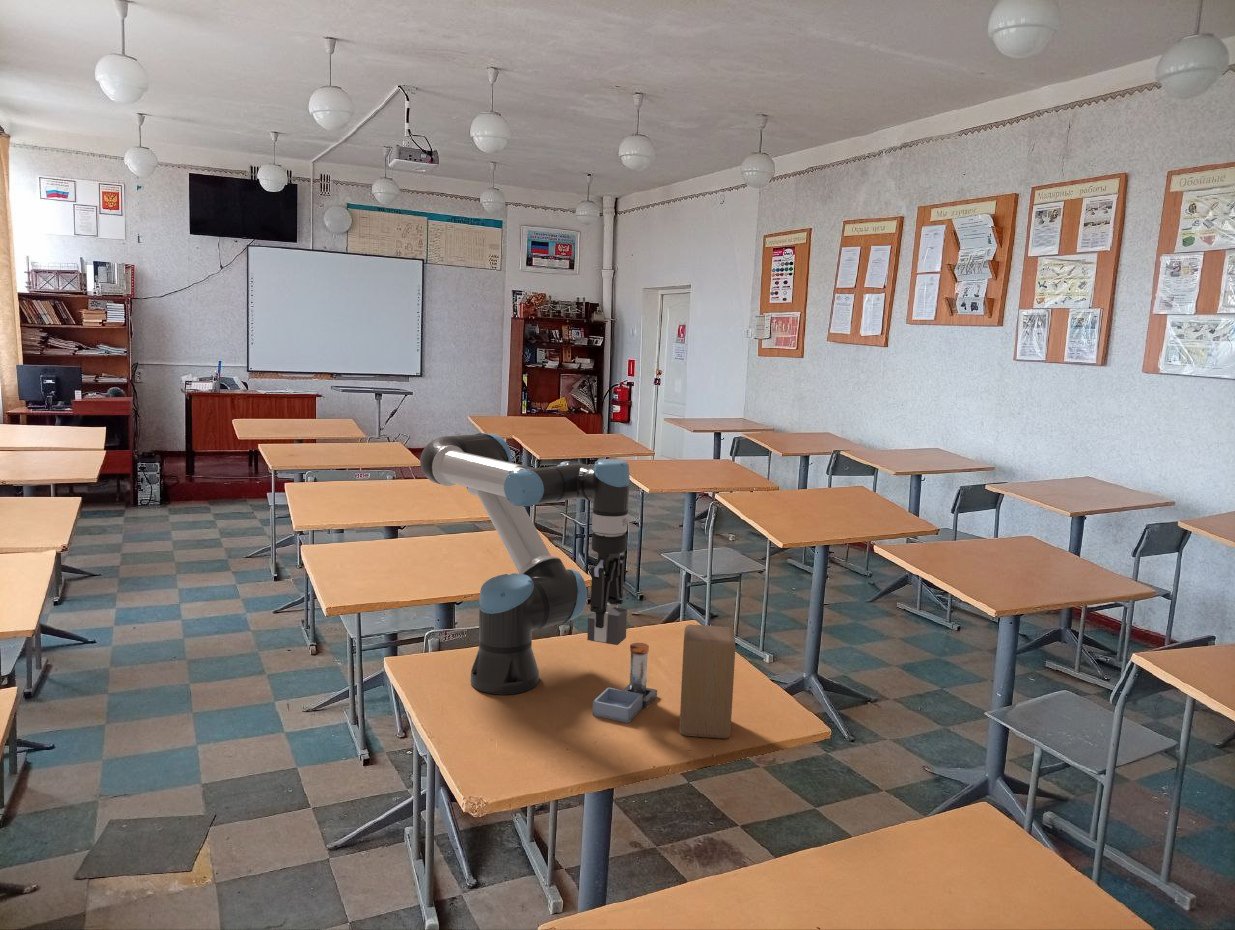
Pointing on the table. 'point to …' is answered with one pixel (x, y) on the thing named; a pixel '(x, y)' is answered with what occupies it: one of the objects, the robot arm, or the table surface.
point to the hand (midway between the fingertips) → (605, 636)
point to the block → (707, 681)
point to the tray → (617, 704)
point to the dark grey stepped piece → (611, 626)
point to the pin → (638, 668)
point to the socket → (647, 696)
